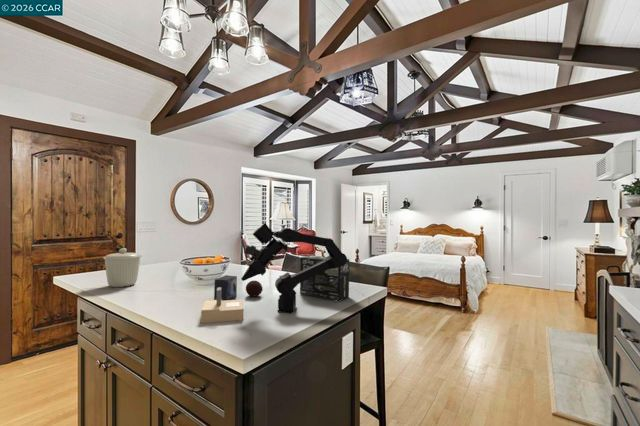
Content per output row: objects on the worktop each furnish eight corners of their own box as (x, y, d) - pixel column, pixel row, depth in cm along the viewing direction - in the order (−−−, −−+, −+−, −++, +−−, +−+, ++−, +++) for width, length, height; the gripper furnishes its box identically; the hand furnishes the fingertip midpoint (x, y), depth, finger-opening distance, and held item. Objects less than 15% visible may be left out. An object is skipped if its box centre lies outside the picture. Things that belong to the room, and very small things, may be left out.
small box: (226, 303, 136) (226, 279, 136) (213, 302, 137) (213, 279, 137) (237, 297, 146) (237, 275, 146) (225, 296, 147) (225, 274, 148)
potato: (248, 299, 142) (249, 283, 142) (243, 295, 150) (243, 279, 150) (265, 297, 146) (265, 281, 146) (258, 293, 154) (258, 278, 154)
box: (349, 297, 147) (349, 258, 147) (339, 302, 139) (340, 260, 139) (310, 290, 159) (310, 255, 160) (299, 294, 151) (299, 257, 151)
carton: (242, 308, 127) (242, 299, 127) (243, 319, 114) (243, 308, 114) (205, 311, 123) (205, 301, 123) (201, 323, 110) (201, 311, 110)
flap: (221, 300, 125) (221, 285, 125) (219, 310, 112) (220, 292, 112) (205, 302, 123) (205, 286, 123) (201, 311, 110) (201, 293, 110)
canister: (145, 285, 170) (146, 248, 170) (107, 291, 157) (107, 250, 157) (135, 280, 182) (136, 246, 183) (99, 285, 169) (100, 248, 170)
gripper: (254, 236, 131) (228, 262, 128) (257, 239, 113) (226, 270, 110) (272, 254, 133) (246, 280, 130) (278, 259, 115) (248, 290, 112)
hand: (242, 279), depth 121 cm, fingers closed
